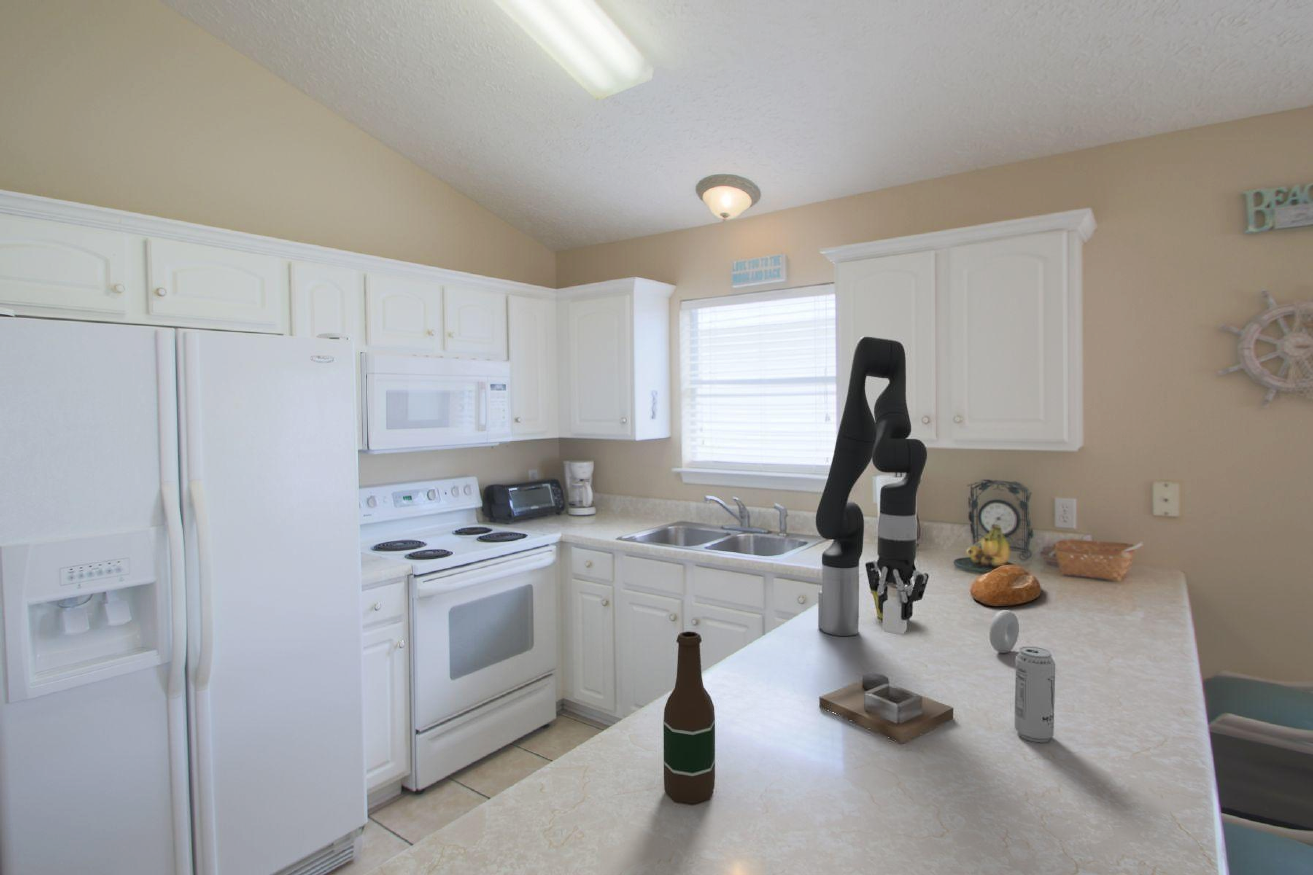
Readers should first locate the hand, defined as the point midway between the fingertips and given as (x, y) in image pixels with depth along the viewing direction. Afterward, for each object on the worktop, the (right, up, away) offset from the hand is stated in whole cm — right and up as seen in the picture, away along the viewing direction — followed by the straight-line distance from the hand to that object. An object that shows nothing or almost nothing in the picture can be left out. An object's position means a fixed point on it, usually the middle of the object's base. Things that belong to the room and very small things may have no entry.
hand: (894, 615), depth 142 cm
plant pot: (+14, -12, +44) cm, 48 cm away
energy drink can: (+16, -15, -23) cm, 32 cm away
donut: (+32, -13, +17) cm, 38 cm away
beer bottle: (-45, -16, -39) cm, 62 cm away
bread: (+57, -11, +65) cm, 87 cm away
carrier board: (-7, -15, -13) cm, 21 cm away
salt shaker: (0, -4, 0) cm, 4 cm away
